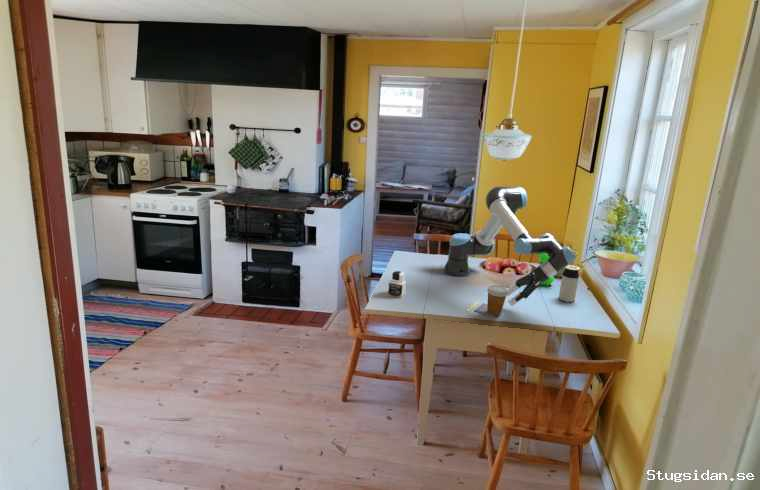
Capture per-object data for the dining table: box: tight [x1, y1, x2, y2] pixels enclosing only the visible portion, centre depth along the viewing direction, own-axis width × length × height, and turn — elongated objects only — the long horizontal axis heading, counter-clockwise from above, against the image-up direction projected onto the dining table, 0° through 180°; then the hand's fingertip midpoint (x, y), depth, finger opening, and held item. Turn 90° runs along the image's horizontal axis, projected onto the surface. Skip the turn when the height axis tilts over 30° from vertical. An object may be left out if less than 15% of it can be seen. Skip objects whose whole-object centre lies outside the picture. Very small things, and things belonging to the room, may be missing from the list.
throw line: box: [465, 301, 481, 313], centre depth 237 cm, size 1×16×1 cm, turn 149°
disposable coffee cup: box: [486, 285, 508, 316], centre depth 228 cm, size 10×10×12 cm
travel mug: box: [558, 265, 581, 303], centre depth 254 cm, size 8×8×18 cm
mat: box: [474, 302, 504, 317], centre depth 234 cm, size 10×12×1 cm
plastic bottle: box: [538, 254, 555, 287], centre depth 275 cm, size 10×10×25 cm
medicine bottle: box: [387, 271, 407, 299], centre depth 245 cm, size 7×7×12 cm
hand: (507, 298), depth 231 cm, fingers open, 13 cm apart
